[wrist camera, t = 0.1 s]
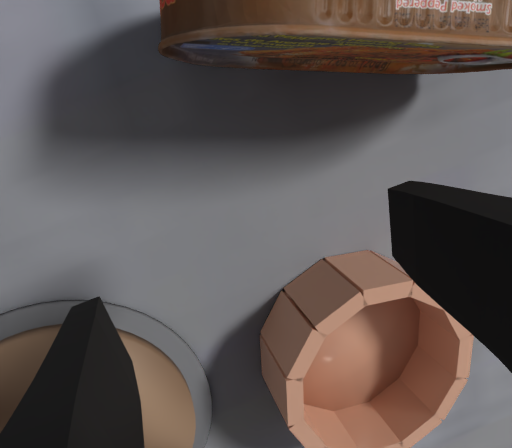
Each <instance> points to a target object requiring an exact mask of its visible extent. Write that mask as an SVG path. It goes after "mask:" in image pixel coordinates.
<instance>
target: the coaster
mask: <svg viewBox="0 0 512 448" xmlns="http://www.w3.org/2000/svg"><path fill="white" fill-rule="evenodd" d="M86 301H88V300H62V301H53V302H45V303H38V304H34V305H30V306H25V307H21V308H17V309H14V310H11V311H9V312H6V313H3V314H0V341H1V340H3V339H5V338H7V337H9V336H12V335H15V334H18V333H21V332H23V331H26V330H31V329H35V328H39V327H43V326H49V325H57V324H63V322H64V320H65V318H66V316H67V314H68V313H69V311H70V309H71V307H72V306H75V305H78V304H80V303H83V302H86ZM103 304H104V306H105V308H106V310H107V312H108V314H109V316H110V318H111V320H112V322H113V324H114V326H115V328H118V329H121V330H124V331H127V332H130V333H133V334H135V335H137V336H139V337H141V338H143V339H145V340H147V341H149V342H150V343H152V344H153V345H155V346H156V347H158V348H159V349H161V350H162V351H163V352H164V353H165V354H166V355H167V356H168V357H170V358H171V360H172V361H173V362H174V363H175V364H176V366H177V367H178V368H179V370H180V371H181V373H182V375H183V376H184V378H185V380H186V382H187V385H188V387H189V390H190V393H191V397H192V401H193V406H194V411H195V420H196V430H195V438H194V443H193V447H192V448H204V447H205V445H206V442H207V438H208V435H209V431H210V426H211V418H212V399H211V393H210V388H209V384H208V381H207V378H206V375H205V372H204V370H203V367H202V365H201V364H200V362H199V360H198V358H197V356H196V355H195V353H194V352H193V351H192V350H191V348H190V347H189V346H188V345H187V343H186V342H185V341H184V340H183V339H182V338H181V337H179V336H178V335H177V334H176V333H175V332H174V331H173V330H171V329H170V328H168V327H167V326H166V325H164V324H163V323H161V322H160V321H158V320H156V319H154V318H152V317H150V316H148V315H146V314H144V313H141V312H139V311H136V310H133V309H130V308H128V307H124V306H120V305H115V304H111V303H106V302H103Z"/></svg>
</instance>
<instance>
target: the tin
mask: <svg viewBox="0 0 512 448" xmlns="http://www.w3.org/2000/svg"><path fill="white" fill-rule="evenodd" d="M160 15H161V42H160V43H159V46H158V50H159V53H160V54H161V55H163V56H165V57H168V58H171V59H175V60H178V61H182V62H186V63H191V64H196V65H205V66H215V67H234V68H248V69H275V70H303V71H328V72H353V73H380V74H443V73H465V72H479V71H491V70H501V69H512V0H160Z"/></svg>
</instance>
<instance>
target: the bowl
mask: <svg viewBox="0 0 512 448" xmlns="http://www.w3.org/2000/svg"><path fill="white" fill-rule="evenodd" d="M284 290H285V291H281V292H280V294H279V296H278V298H277V300H276V302H275V304H274V306H273V308H272V310H271V312H270V314H269V316H268V318H267V320H266V322H265V324H264V326H263V328H262V330H261V334H262V335H260V350H261V366H262V376H263V378H264V380H265V382H266V384H267V386H268V388H269V390H270V392H271V394H272V396H273V398H274V400H275V402H276V404H277V406H278V408H279V410H280V412H281V414H282V416H283V418H284V420H285V422H286V424H287V426H288V428H289V430H290V431H291V432H292V433H293V434H294V436H295V437H296V438H297V439H298V440H299V441H300V442H301V444H302V445H303V446H304V447H305V448H411V447H412V446H413V445H414V444H416V443H417V442H418V441H419V440H421V439H422V438H423V437H424V436H426V435H427V434H428V433H429V432H431V431H432V430H433V429H434V428H436V427H437V426H438V425H439V424H440V423H442V421H441V420H440V419H443V420H444V419H445V418H446V416H447V414H448V413H449V411H450V409H451V407H452V406H453V404H454V402H455V401H456V399H457V397H458V396H459V394H460V392H461V391H462V389H463V387H464V386H465V384H466V382H467V381H468V380H467V379H466V378H468V377H469V372H470V363H471V354H472V346H473V337H474V336H473V335H472V334H471V333H470V332H469V331H468V330H467V329H466V328H464V327H463V326H462V325H461V324H460V323H459V322H458V321H457V320H455V319H454V318H453V317H452V316H451V315H450V314H449V313H447V312H446V311H445V310H444V309H443V308H442V307H441V306H440V305H438V304H437V303H436V302H435V301H434V300H433V299H432V298H431V297H430V296H428V295H427V294H426V293H425V292H424V291H423V290H422V289H421V288H420V287H419V286H418V285H417V284H416V283H415V282H414V281H413V280H412V279H411V278H410V277H409V275H408V274H407V273H406V272H405V271H404V269H403V268H402V267H401V266H400V265H399V263H398V262H396V261H394V260H391V259H389V258H387V257H384V256H382V255H380V254H378V253H375V252H373V251H371V250H370V251H368V250H365V251H360V252H354V253H348V254H342V255H337V256H331V257H325V261H324V260H322V259H321V260H320V261H318V262H317V263H316V264H314V265H313V266H312V267H310V268H309V269H308V270H306V271H305V272H304V273H303V274H301V275H300V276H299V277H297V278H296V279H295V280H293V281H292V282H291V283H289V284H288V285H287V286H285V287H284Z"/></svg>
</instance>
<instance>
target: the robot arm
mask: <svg viewBox="0 0 512 448" xmlns="http://www.w3.org/2000/svg"><path fill="white" fill-rule="evenodd" d="M388 199H389V213H390V228H391V242H392V256H393V257H394V258H395V260H396V261H397V262H398V263H399V265H400V266H401V267H402V268H403V269H404V271H405V272H406V273H407V274H408V275H409V277H410V278H411V279H412V280H413V281H414V282H415V283H416V284H417V285H418V286H419V287H420V288H421V289H422V290H423V291H424V292H425V293H426V294H427V295H428V296H430V297H431V298H432V299H433V300H434V301H435V302H436V303H437V304H438V305H440V306H441V307H442V308H443V309H444V310H445V311H446V312H447V313H449V314H450V315H451V316H452V317H453V318H454V319H455V320H457V321H458V322H459V323H460V324H461V325H462V326H463V327H464V328H466V329H467V330H468V331H469V332H470V333H471V334H472V335H473V336H475V337H476V338H477V339H478V340H479V341H480V342H481V343H483V344H484V345H485V346H486V347H487V348H488V349H489V350H490V351H491V352H492V353H493V354H494V355H495V356H496V357H497V358H498V359H499V360H500V361H501V362H502V363H503V364H504V365H505V366H506V367H507V368H508V369H509V371H510V372H511V373H512V198H510V197H504V196H498V195H493V194H487V193H482V192H476V191H471V190H466V189H460V188H455V187H449V186H444V185H438V184H432V183H425V182H417V181H408V182H405V183H402V184H400V185H397V186H394V187H392V188H389V189H388ZM0 448H145V446H144V433H143V421H142V409H141V400H140V395H139V390H138V385H137V380H136V375H135V371H134V366H133V362H132V359H131V357H130V355H129V353H128V351H127V350H126V348H125V346H124V344H123V342H122V340H121V338H120V336H119V334H118V332H117V330H116V328H115V326H114V324H113V322H112V320H111V318H110V316H109V314H108V312H107V310H106V308H105V306H104V304H103V302H102V300H101V298H100V296H99V297H96V298H94V299H91V300H88V301H86V302H83V303H80V304H78V305H75V306H72V307H71V309H70V311H69V313H68V314H67V316H66V318H65V320H64V322H63V324H62V326H61V328H60V330H59V332H58V334H57V336H56V338H55V340H54V341H53V343H52V345H51V347H50V349H49V351H48V353H47V355H46V357H45V359H44V361H43V362H42V364H41V366H40V368H39V370H38V372H37V373H36V375H35V377H34V379H33V381H32V383H31V384H30V386H29V388H28V389H27V391H26V393H25V394H24V396H23V398H22V399H21V401H20V402H19V404H18V406H17V407H16V409H15V411H14V412H13V414H12V416H11V417H10V419H9V421H8V422H7V424H6V425H5V427H4V428H3V430H2V431H1V433H0Z"/></svg>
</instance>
